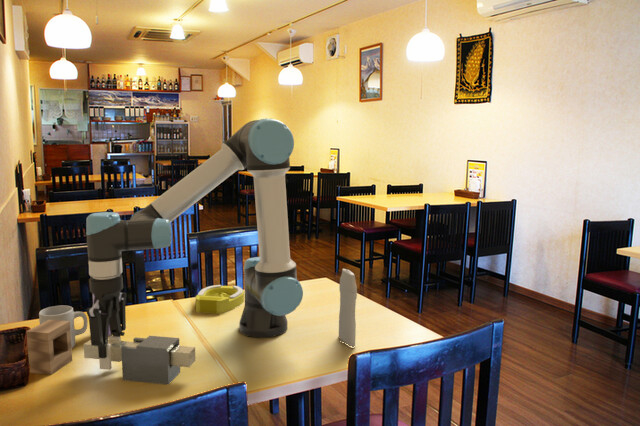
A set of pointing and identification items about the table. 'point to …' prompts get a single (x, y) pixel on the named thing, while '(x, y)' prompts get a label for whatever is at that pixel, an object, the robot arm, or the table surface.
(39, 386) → the table surface
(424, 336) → the table surface
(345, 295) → the tall pale column
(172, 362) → the beige square bar
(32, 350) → the socket block
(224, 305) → the ashtray
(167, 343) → the sleeve
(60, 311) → the mug
